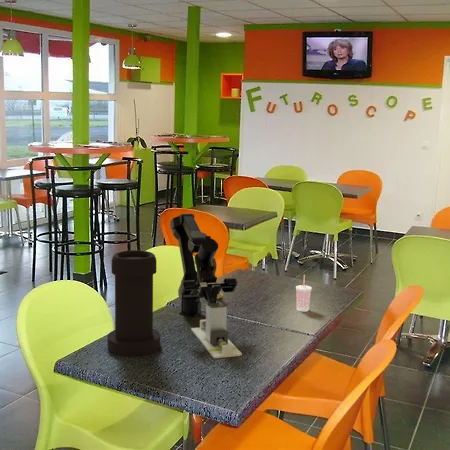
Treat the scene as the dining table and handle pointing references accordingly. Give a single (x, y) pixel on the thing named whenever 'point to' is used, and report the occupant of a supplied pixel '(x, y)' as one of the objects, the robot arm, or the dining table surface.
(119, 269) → the pipe
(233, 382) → the dining table surface
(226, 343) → the steel pipe
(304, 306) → the beverage cup
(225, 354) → the base board
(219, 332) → the dark grey notched block
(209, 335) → the beige tall block
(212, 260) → the hand bell
